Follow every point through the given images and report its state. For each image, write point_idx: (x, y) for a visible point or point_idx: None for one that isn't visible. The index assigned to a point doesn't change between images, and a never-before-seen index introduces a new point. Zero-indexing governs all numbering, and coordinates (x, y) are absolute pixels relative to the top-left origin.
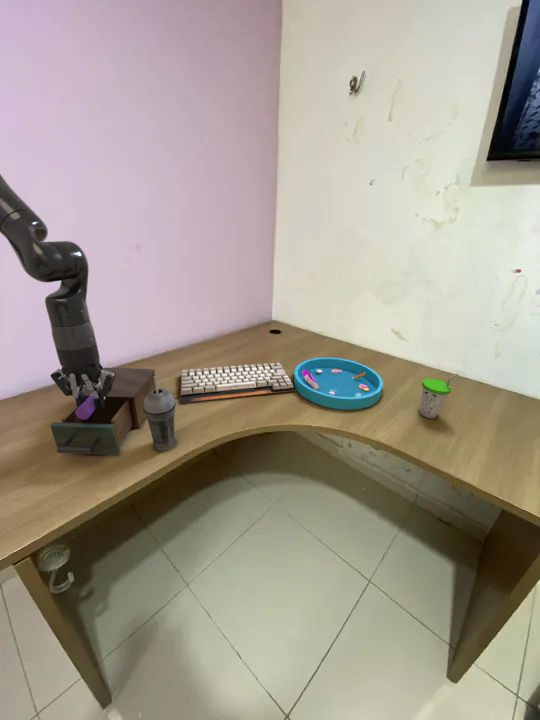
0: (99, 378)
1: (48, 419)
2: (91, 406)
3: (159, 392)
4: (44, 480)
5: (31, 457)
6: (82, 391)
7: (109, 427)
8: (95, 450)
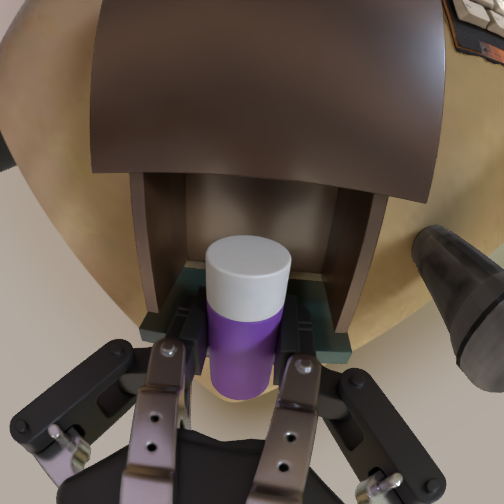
0: (312, 447)
1: (64, 123)
2: (266, 371)
3: None
4: None
5: (122, 268)
6: (186, 366)
7: (338, 363)
8: None
